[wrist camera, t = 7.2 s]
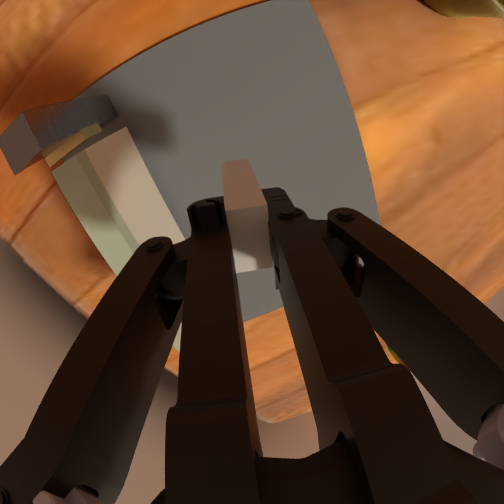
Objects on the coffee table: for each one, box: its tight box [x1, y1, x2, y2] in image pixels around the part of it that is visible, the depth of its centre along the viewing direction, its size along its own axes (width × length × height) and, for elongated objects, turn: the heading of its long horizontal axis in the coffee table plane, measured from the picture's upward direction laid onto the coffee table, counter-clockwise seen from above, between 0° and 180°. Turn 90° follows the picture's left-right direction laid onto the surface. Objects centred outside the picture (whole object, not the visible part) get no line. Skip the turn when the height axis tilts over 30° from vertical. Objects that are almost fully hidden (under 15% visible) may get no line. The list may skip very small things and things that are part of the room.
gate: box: [51, 127, 185, 353], centre depth 18 cm, size 15×2×9 cm, turn 20°
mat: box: [63, 0, 380, 322], centre depth 22 cm, size 26×22×1 cm
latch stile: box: [0, 94, 119, 175], centre depth 13 cm, size 3×3×11 cm
